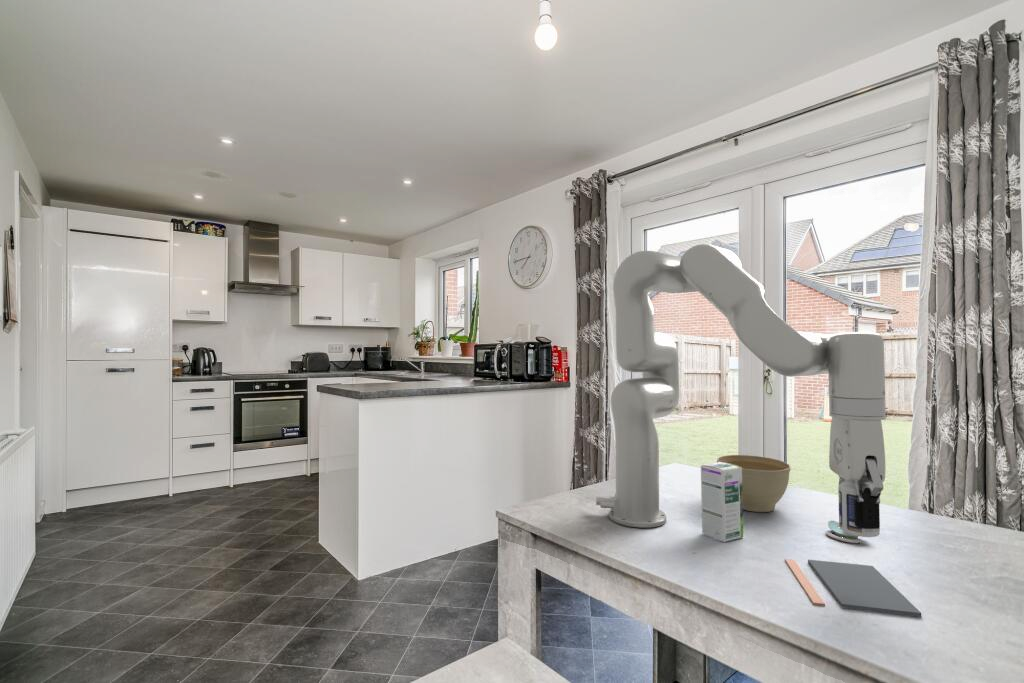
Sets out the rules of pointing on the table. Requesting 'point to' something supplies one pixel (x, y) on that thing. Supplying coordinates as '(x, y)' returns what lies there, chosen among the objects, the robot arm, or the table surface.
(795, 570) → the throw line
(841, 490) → the pill bottle
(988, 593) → the table surface
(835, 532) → the pacifier
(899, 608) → the mat
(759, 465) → the planter bowl
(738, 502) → the syrup box
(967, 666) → the table surface
